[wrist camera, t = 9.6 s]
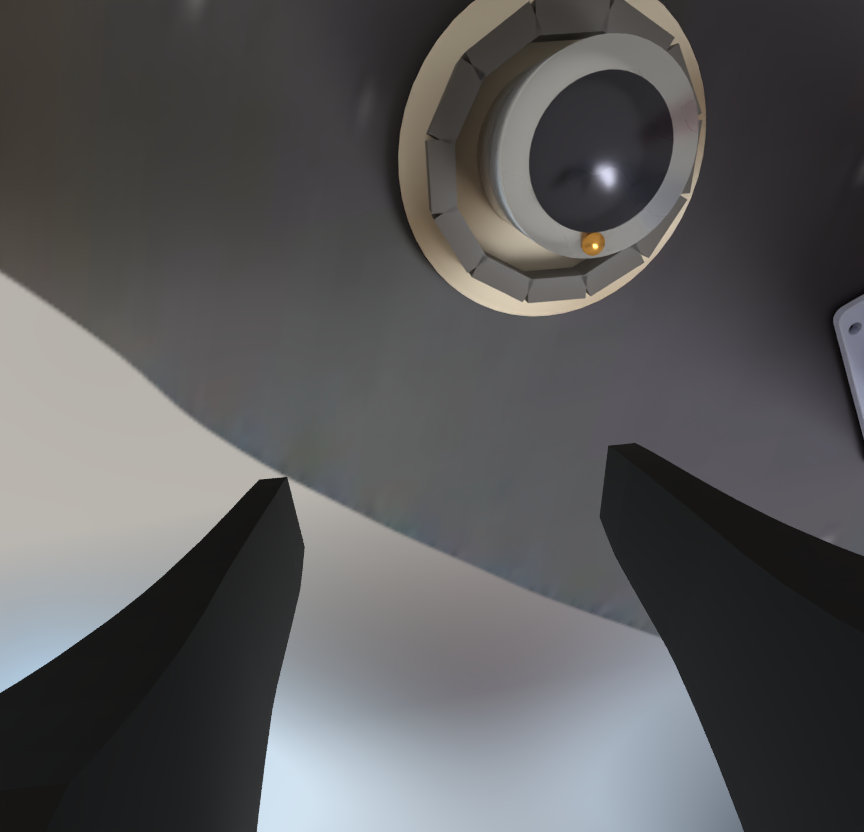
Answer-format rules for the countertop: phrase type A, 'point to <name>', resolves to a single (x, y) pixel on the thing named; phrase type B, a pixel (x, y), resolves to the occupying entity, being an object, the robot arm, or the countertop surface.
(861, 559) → the robot arm
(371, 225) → the countertop surface
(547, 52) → the mount
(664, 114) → the lens
